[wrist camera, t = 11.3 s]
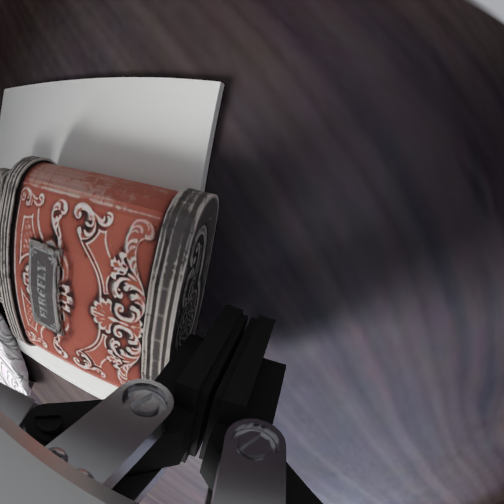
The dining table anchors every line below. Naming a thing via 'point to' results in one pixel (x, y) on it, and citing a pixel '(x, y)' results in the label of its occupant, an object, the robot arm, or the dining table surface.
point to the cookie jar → (12, 362)
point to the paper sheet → (112, 144)
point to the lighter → (102, 266)
